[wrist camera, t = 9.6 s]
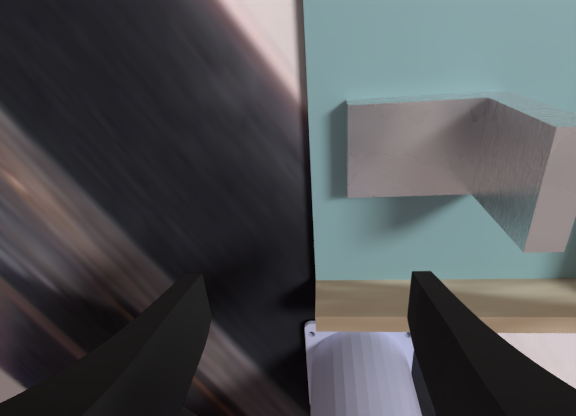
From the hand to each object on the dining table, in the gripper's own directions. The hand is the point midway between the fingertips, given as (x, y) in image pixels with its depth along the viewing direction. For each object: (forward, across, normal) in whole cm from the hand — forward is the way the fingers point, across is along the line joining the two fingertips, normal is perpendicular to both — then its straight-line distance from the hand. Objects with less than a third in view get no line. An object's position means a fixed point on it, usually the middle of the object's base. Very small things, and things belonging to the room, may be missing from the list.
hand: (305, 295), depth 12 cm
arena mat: (+10, -8, -1) cm, 13 cm away
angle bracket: (+10, -6, -2) cm, 12 cm away
